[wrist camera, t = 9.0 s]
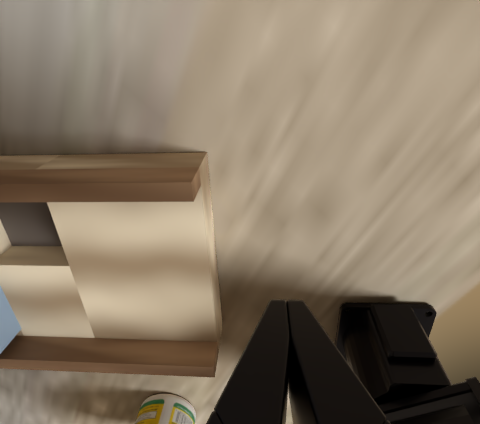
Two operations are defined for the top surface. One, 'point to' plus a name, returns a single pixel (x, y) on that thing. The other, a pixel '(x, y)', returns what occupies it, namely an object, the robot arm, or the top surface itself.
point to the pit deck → (110, 263)
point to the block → (7, 322)
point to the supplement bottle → (166, 410)
